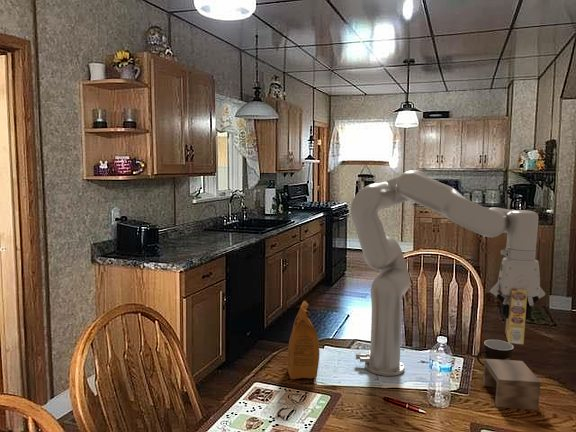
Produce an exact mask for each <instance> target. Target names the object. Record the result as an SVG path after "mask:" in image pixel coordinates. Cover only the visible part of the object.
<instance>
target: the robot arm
mask: <svg viewBox="0 0 576 432" xmlns="http://www.w3.org/2000/svg"><path fill="white" fill-rule="evenodd" d="M408 201H411V202H413V203H416V204H417V205H420V206H423V207H424V208H427V209H428V210H431V211H433V212H436V213H437V214H440V215H441V216H443V217H444V218H446V219H448V220H450V221H452V222H453V223H455V224H456V225H459V226H461V227H462V228H464V229H467V230H469V231H472V232H473V233H476V234H478V235H480V236H483V237H487V238H496V237H498V236H500V235H501V234H503V233H505V234H506V244H505V245H506V246H505V248H504V249H501V250H500V255H501V256H502V255H503V256H504V257H503V258H502V260H501V264H500V268H499V273H498V279H497V282H496V283H495V284H494V285H493V286H492V287H491V288H490V290H489V292H490V293H491V294H492V295H493V296H495V298H497V299H498V300H499V301H500V302H501V307H500V308H501V309H500V313H501V315H502V316H503V318H504V319H508V318H509V305H508V301H509V298H510V296H511V291H512V289H525V290H527V304H526V318H525V320H527V321H528V320H530V317H531V316H532V307H533V306H534V304H535V303H536V302H538V301H539V299H542V298H544V296H546V292H545V291H544V290H543V288H542V287H541V278H540V277H541V275H540V263H539V260H537V259H536V253H537V240H538V229H539V215H538V213H537V212H535V211H532V210H527V209H524V210H523V209H515V210H513V209H507V208H503V207H502V208H501V207H497V206H496V207H490V208H487V207H485V206H484V205H480V204H479V203H476V202H475V201H472V200H470V199H468V198H467V197H464V196H463V195H462V194H461V193H460V192H459V191H458V190H457V189H456V188H454V187H453V186H451V185H448V184H445V183H442V182H440V181H438V180H437V179H433V178H431V177H429V176H428V175H427V174H426V173H425V172H424V171H422V170H417V169H416V170H415V169H414V170H412V169H411V170H407V171H404V172H402V173H401V174H400V175H399V176H395V177H394V178H391V179H388V180H385V181H382V182H375V183H369V184H368V185H366V186H364V187H363V188H360V190H359V191H358V192H357V193H356V194H355V196H354V197H353V199H352V201H351V207H350V213H351V219H352V222H353V225H354V228H355V232H356V234H357V238H358V242H359V245H360V248H361V250H362V254H363V258H364V261H365V264H366V265H367V266H368V267H369V268H370V269H372V270H377V271H378V272H379V274H378V275H377V276H376V277H375V278H374V280H373V281H372V283H371V286H370V299H371V324H370V325H371V327H370V328H371V329H370V346H369V347H370V348H369V350H368V352H365V353H360V352H357V353H355V360H359V362H360V363H364V366H365V367H364V368H365V369H366V370H367V371H368V372H370V373H372V374H375V375H378V376H384V377H393V376H398V375H401V374H403V373H404V371H405V365H404V364H405V363H403V362H402V361H401V346H402V345H401V344H402V343H401V342H402V326H403V325H402V322H403V319H402V318H403V312H402V311H403V307H402V297H403V296H404V295H405V293H407V291H409V288H410V286H411V277H410V272H409V270H408V266H407V263H406V260H405V257H404V253H403V251H402V248H401V246H400V244H399V243H398V241H397V240H396V239H394V238H393V237H391V236H387V235H386V232H385V229H384V225H383V223H382V221H381V218H380V217H379V214H378V213H379V211H380V210H384V209H388V208H391V207H393V206H395V205H398V204H401V203H405V202H408ZM498 291H500V292H501V293H502V294H500V293H499V292H498Z"/></svg>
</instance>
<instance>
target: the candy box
mask: <svg viewBox="0 0 576 432" xmlns="http://www.w3.org/2000/svg"><path fill="white" fill-rule="evenodd" d="M526 304H527V290H525V289H512V291H511V296H510V298H509V301H508V305H509V318H508V319H506V320H505V335H506V336H505V337H506V339H507V342H508V343H510V344H516V345H524V342H525V331H526V329H525V328H526V319H525V318H526Z"/></svg>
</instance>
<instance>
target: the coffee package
mask: <svg viewBox="0 0 576 432" xmlns="http://www.w3.org/2000/svg"><path fill="white" fill-rule="evenodd" d="M308 308H309V303H307V301H306V300H303V301H302V304H301V305H300V308H299V310H298V312H297V314H296V317H295V318H294V320H293V321H294V322H293V326H292V330H291V333H290V336H289V341H288V348H287V359H286V360H287V363H286V364H287V365H286V366H287V367H286V369H287V373H288V375H289V378H290V379H291V380H297V379H314V378H315V379H316V378H317V376H318V370H319V364H320V345H319V344H320V343H319V337H318V333H317V330H316V329H315V326H314V324H313V323H312V322H311V320H310V318H309V316H311V313H310V311H308V310H307V309H308Z"/></svg>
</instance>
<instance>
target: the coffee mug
mask: <svg viewBox="0 0 576 432" xmlns="http://www.w3.org/2000/svg"><path fill="white" fill-rule="evenodd" d="M514 347H515V346H514V345H513V343H508V341H505V340H500V339H487V340H485V341H484V342H483V348H484V350H481V351H479V352H478V353H477V355H476V361H477V362H478V363H479V364H480V365H481V366H483V367H484V363H483V362H482V361H481V360H480V356H481V355H482V354H483V353H484V360H485V359H498V360H512V358H513V357H512V356H513V352H514Z"/></svg>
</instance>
